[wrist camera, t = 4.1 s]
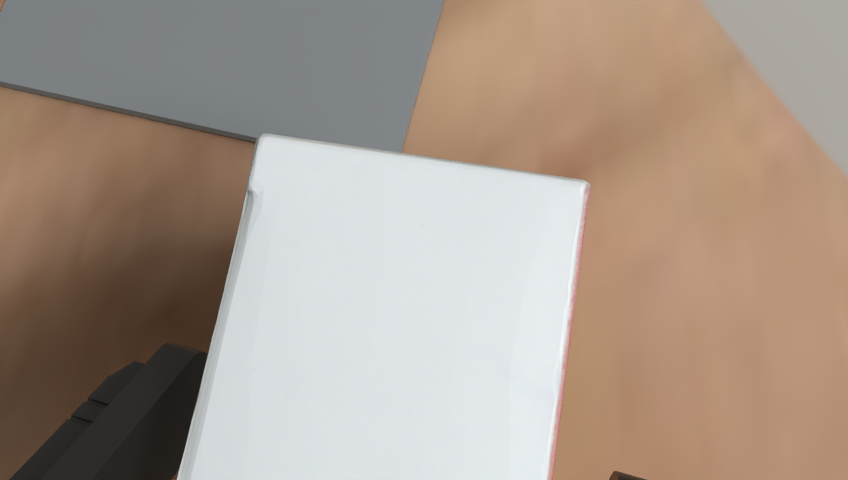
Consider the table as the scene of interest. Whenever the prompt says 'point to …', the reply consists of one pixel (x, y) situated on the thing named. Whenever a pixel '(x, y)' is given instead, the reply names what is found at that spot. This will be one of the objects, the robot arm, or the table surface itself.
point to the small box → (390, 320)
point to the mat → (230, 63)
